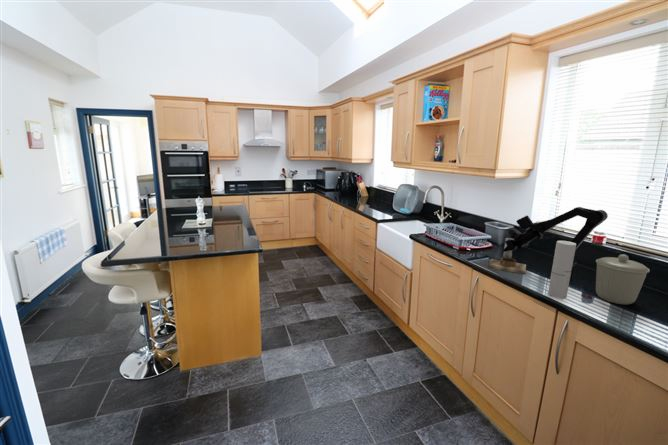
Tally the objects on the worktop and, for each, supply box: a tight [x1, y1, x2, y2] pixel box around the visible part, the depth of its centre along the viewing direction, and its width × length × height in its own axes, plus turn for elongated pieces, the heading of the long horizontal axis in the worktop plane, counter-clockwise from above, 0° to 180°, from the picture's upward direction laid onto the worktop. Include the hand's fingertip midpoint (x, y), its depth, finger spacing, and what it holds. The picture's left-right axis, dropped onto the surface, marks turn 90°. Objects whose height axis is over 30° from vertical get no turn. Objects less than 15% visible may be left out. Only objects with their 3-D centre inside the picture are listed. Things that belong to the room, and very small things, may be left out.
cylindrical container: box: [547, 240, 576, 300], centre depth 148 cm, size 7×7×25 cm
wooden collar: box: [499, 257, 517, 267], centre depth 186 cm, size 8×8×3 cm
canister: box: [595, 254, 650, 305], centre depth 145 cm, size 18×18×21 cm
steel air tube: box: [502, 237, 514, 259], centre depth 196 cm, size 5×5×14 cm
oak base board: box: [488, 258, 527, 275], centre depth 187 cm, size 18×14×2 cm
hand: (505, 250), depth 197 cm, fingers closed on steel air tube, 4 cm apart
